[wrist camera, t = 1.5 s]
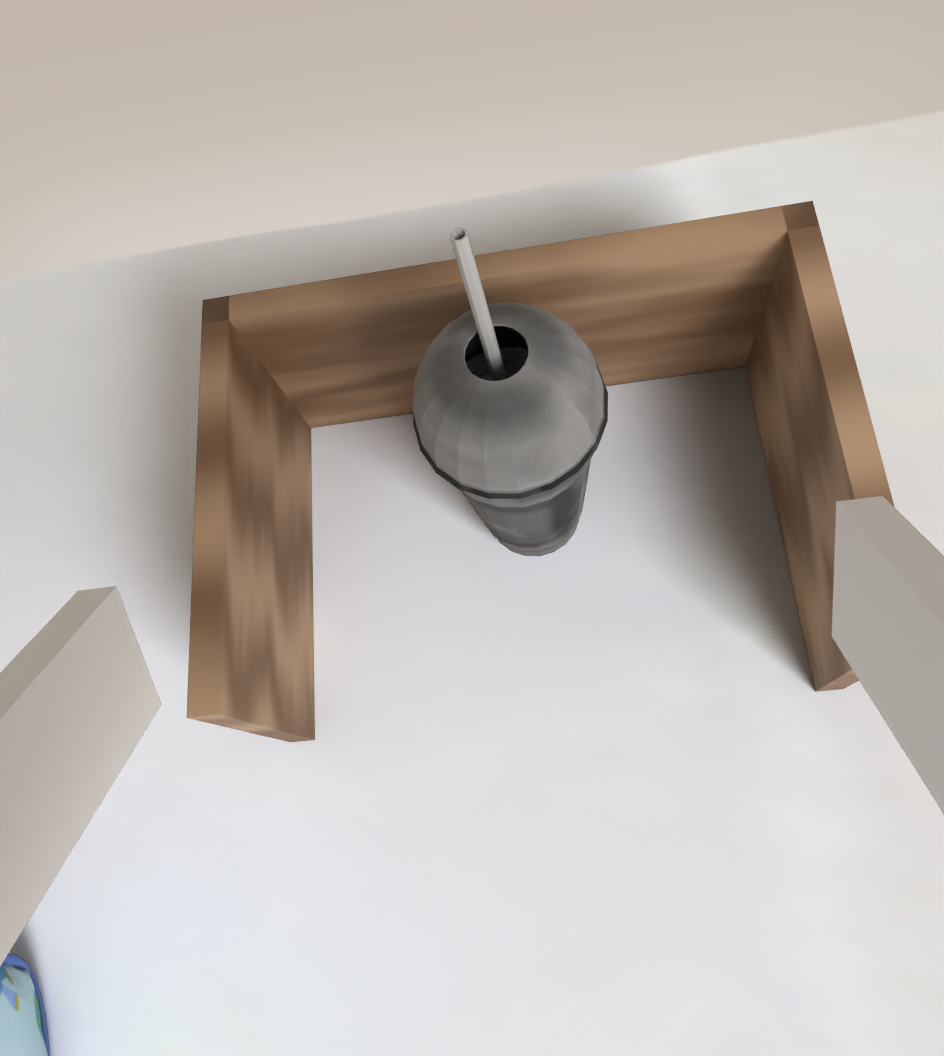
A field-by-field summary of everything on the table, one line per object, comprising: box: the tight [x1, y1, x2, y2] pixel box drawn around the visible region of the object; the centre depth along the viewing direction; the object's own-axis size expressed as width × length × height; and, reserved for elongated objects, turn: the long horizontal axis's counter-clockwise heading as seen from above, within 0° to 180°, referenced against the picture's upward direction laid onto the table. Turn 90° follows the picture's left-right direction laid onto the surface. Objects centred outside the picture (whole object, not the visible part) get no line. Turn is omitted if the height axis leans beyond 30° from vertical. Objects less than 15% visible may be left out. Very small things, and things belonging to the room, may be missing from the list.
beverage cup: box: [413, 228, 608, 556], centre depth 32 cm, size 7×7×20 cm
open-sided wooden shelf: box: [187, 201, 894, 742], centre depth 36 cm, size 18×25×10 cm
